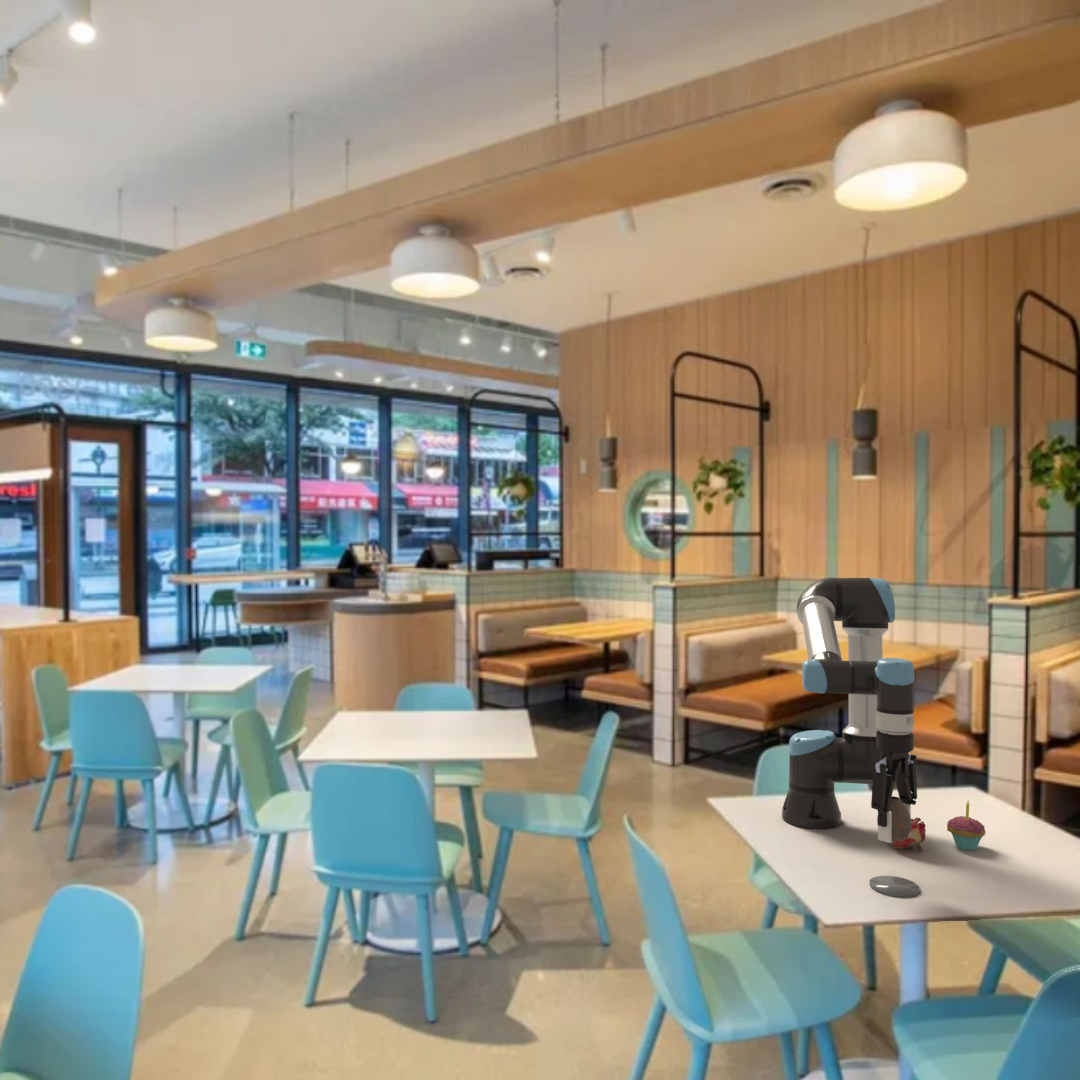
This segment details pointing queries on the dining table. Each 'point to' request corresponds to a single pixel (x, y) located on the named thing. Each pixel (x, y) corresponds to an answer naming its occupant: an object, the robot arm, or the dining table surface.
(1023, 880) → the dining table surface
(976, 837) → the cupcake
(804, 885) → the dining table surface
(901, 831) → the vase
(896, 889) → the grey flat disc
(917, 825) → the flower
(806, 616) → the robot arm
